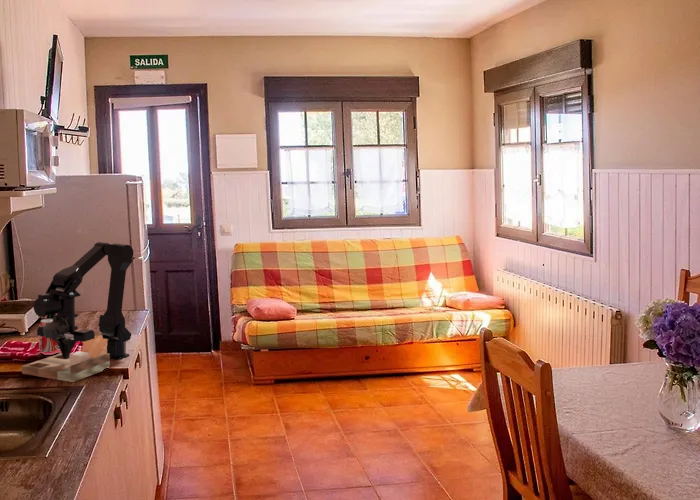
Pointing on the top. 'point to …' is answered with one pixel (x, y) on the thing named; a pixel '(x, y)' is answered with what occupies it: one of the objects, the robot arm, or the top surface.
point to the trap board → (66, 367)
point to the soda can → (47, 340)
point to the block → (78, 357)
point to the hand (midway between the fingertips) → (65, 358)
